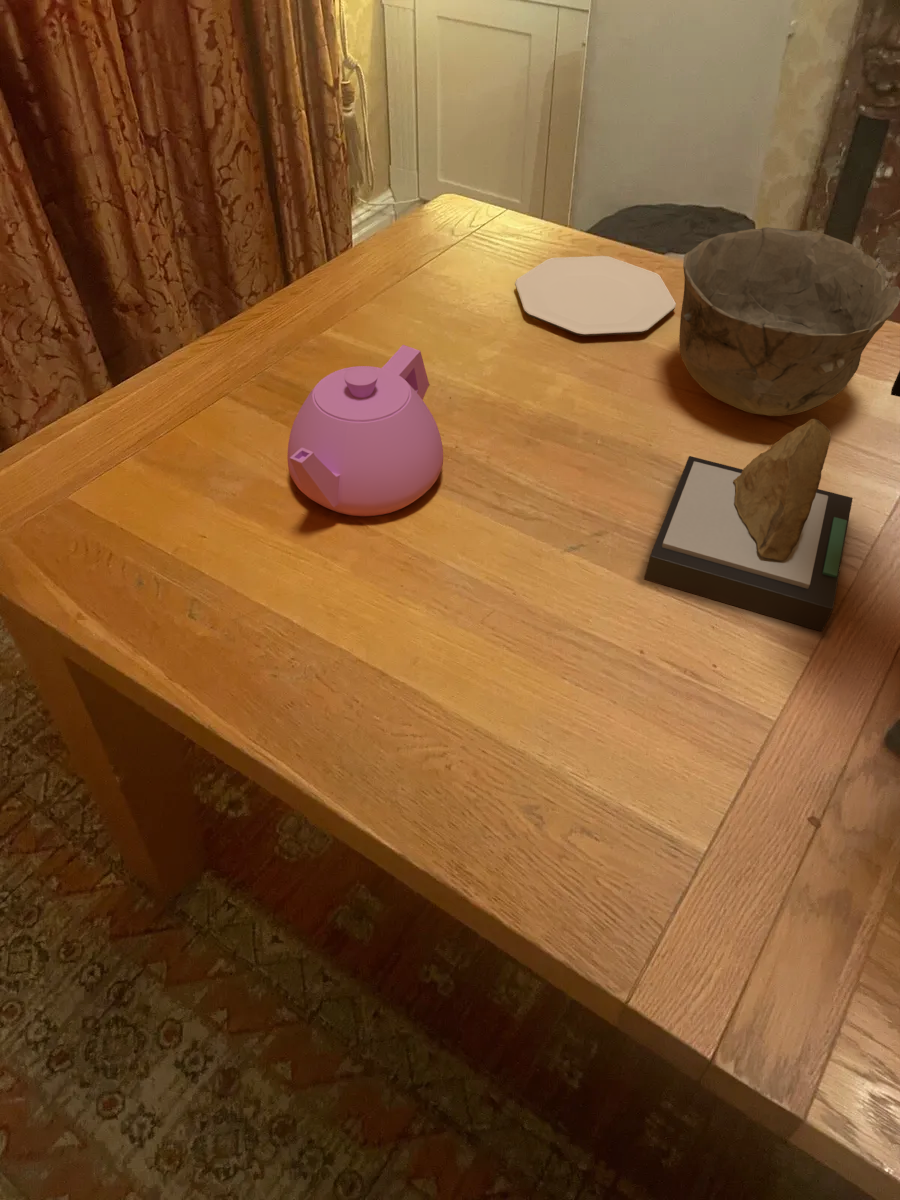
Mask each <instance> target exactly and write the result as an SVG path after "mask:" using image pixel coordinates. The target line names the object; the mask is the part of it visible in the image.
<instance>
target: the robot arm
mask: <svg viewBox="0 0 900 1200" xmlns="http://www.w3.org/2000/svg"><path fill="white" fill-rule="evenodd" d="M890 395H891V396H894V397H899V398H900V370H899V371H898V373H897V376H896V377H895V380H894V382H893V385H892V387H891V391H890Z"/></svg>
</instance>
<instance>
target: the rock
mask: <svg viewBox="0 0 900 1200" xmlns="http://www.w3.org/2000/svg"><path fill="white" fill-rule="evenodd" d="M831 434H832V432H831V430H830V429H829V428H828V427H827V426H826V425H825V424H823V423H822V421H820V420H818V419H817V418H810V419H809V420H808V421H807V422H805V423H803V424H802V425H799V426H797V427H795V428H794V429H793V430H792V431H790V432H788V433H786V434H785V435H783V436H782V437H781V438H780V439H779V440H777V441H776V442H774V443H773V444H772V446H771V447H770V448H768V449H767V450H766V451H764V452H760V453H759V454H758V455H757V456H756V457H754V458H753V459H752V460H751V461H750V462H749V463H748V464H747V465H746V466H744V467H743V471H742V474H741V475H740V476H738V477H737V478H736V479H735V480H733V482H734V484H735V485H736V487H735V492H736V494H735V502H734V504H735V505H736V507H737V509H738V512H739V515H740V517H741V518H742V520H743V522H744V523H745V524H746V525H747V527H748V529H749V532H750V534H751V535H752V537H754V538H755V540H756V541H757V547H758V552H759V553H760V555H761V556H762V557H764V558H770V559H775V560H778V561H785V560H787V558H788V556H789V555H790V554H791V553H792V550H793V548H794V547H795V546H796V545H797V542H798V541H799V538H800V535H801V532H802V530H803V527H804V524H805V522H806V520H807V519H808V516H809V513H810V511H811V506H812V503H813V500H814V499H815V496H816V492H817V489H819V486H820V483H821V480H822V470H823V469H824V464H825V462H826V458H827V455H828V450H829V446H830V443H831V438H832V437H831Z"/></svg>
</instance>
